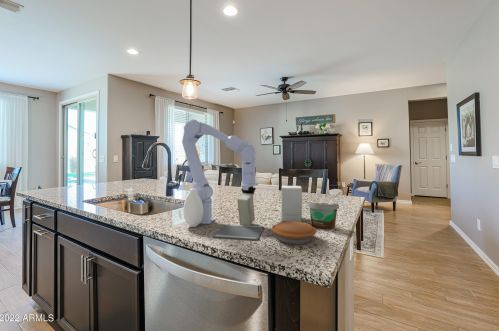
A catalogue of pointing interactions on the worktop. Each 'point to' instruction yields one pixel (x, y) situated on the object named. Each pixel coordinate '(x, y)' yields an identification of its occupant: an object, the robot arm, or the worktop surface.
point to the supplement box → (292, 203)
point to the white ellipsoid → (193, 208)
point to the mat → (239, 232)
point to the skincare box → (246, 209)
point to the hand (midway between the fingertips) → (248, 204)
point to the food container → (323, 215)
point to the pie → (294, 232)
